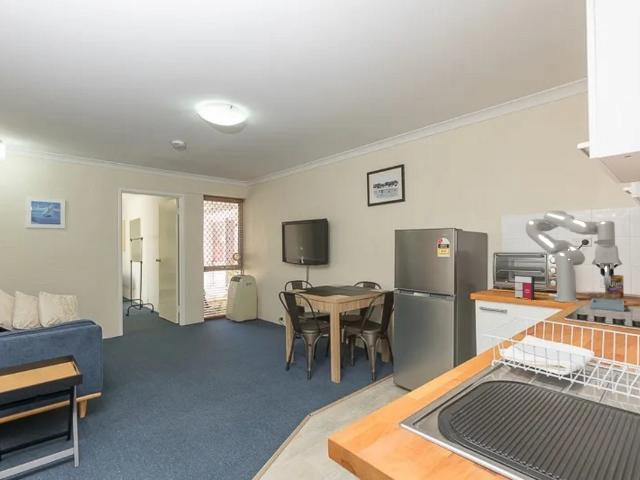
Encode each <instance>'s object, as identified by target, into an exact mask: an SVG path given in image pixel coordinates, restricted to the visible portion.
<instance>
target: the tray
mask: <svg viewBox="0 0 640 480" xmlns="http://www.w3.org/2000/svg"><path fill="white" fill-rule="evenodd" d="M589 309H591V310H592V309H593V310H600V311H601V310H602V311H610V312H611V311H613V312H621V313H623V312H624V311H625V300H621V299H620V300H608V299H598V298H591V300H590V302H589Z"/></svg>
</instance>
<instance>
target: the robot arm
mask: <svg viewBox="0 0 640 480" xmlns="http://www.w3.org/2000/svg"><path fill="white" fill-rule="evenodd" d="M558 227H560V228H563V229H565V230H567V231H569V232H571V233H576V234H578V235H585V236H586V235H588V236H589V235H591V236H593V235H596V236H597V240H595V241H593V242H594V244H596V246H595V250H594V259H593V260H592V262H591V264H592V265H594V266H597V267H598V268H599V270H600V271H599V272H600V275H601V277H604V268H603V264H602V263H611V264H610V276H612V275H615V272H614V271H615V269H616V268H617V267H620V266H622V265H623V263H622V261H621V260H620V258H619V248H618V245H616V230H615V229H616V226H615V222H614V221H613V220H612V221H611V220H604V221H583V220H579V219H576V218H575V217H574V216H573V215H571V214H568V213H567V212H565V211H563V210H548V211H546V212H545V213H544V214H543V218H534V219H533V218H532V219H530V220H528V221H527V222H526V224H525V232H526V235H527V236H528V237H529V238H530V239H531V240H532V241H534V242H535V243H536V244H537V245H538V246H540V248H542V249H543V250H544V251H546V252H547V254H549V255H555V256H554V264H555V268H556V269H555V270H556V293H548V297H549V298H554V299H553V300H554V301H555V302H560V303H565V302H579V301H580V300H579V299H577V296H576V294H577V292H576V291H577V287H576V286H577V284H576V283H577V282H576V279H577V277H576V270H575V268H574V266H581V265H582V264H583V263H585V261H586V256H585V254H584V252H582V251H581V250H580V249H579V248H577V247H576V246H574V245H573V244H572V243H571V242H569V241H567V240H564V239H555V238H553V237H552V236H551V235H549V234H548V233H546V232H551V231H553V230H554V229H556V228H558Z"/></svg>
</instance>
